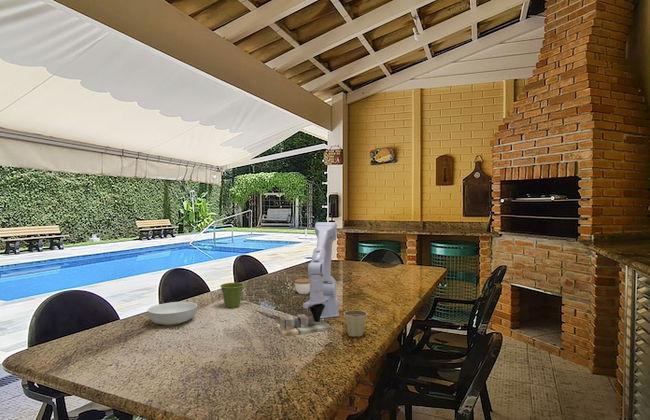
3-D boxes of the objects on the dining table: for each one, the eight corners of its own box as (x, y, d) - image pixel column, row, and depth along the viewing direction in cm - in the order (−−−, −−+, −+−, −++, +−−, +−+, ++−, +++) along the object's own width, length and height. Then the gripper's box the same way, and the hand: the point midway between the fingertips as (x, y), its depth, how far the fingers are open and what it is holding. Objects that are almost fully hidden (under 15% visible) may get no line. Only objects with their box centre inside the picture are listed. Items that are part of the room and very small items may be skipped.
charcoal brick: (312, 322, 163) (312, 316, 163) (314, 324, 160) (314, 318, 160) (291, 325, 159) (291, 319, 159) (293, 327, 157) (293, 321, 157)
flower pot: (369, 332, 155) (369, 311, 155) (364, 339, 146) (364, 317, 146) (347, 329, 158) (347, 309, 158) (341, 337, 149) (340, 315, 149)
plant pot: (215, 308, 192) (215, 286, 192) (229, 302, 203) (229, 281, 203) (235, 310, 188) (234, 288, 187) (248, 304, 199) (248, 283, 198)
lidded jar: (292, 292, 226) (291, 276, 226) (308, 290, 231) (308, 275, 231) (298, 296, 216) (298, 279, 216) (315, 294, 221) (315, 278, 221)
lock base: (321, 321, 169) (321, 309, 169) (331, 329, 158) (331, 317, 158) (276, 327, 162) (276, 314, 162) (283, 336, 150) (283, 323, 150)
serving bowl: (207, 318, 176) (207, 303, 176) (172, 332, 157) (171, 315, 157) (174, 313, 184) (174, 299, 184) (137, 326, 165) (136, 310, 165)
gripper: (321, 285, 170) (321, 316, 170) (297, 291, 159) (298, 323, 159) (333, 288, 165) (333, 319, 165) (309, 294, 154) (310, 327, 154)
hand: (316, 321), depth 162 cm, fingers closed
